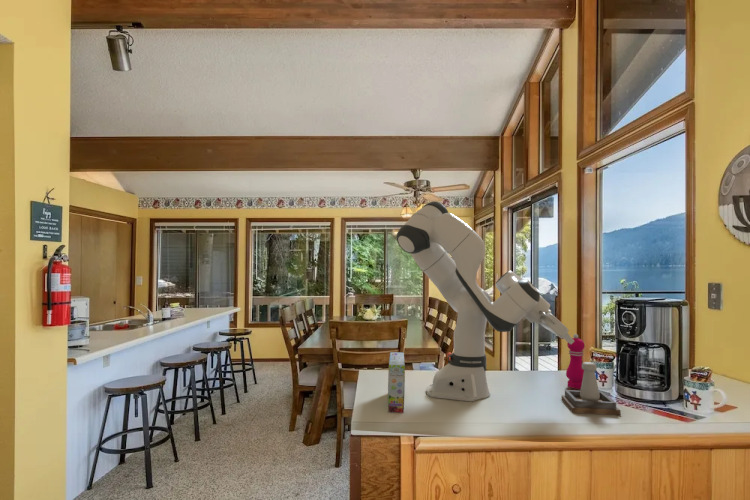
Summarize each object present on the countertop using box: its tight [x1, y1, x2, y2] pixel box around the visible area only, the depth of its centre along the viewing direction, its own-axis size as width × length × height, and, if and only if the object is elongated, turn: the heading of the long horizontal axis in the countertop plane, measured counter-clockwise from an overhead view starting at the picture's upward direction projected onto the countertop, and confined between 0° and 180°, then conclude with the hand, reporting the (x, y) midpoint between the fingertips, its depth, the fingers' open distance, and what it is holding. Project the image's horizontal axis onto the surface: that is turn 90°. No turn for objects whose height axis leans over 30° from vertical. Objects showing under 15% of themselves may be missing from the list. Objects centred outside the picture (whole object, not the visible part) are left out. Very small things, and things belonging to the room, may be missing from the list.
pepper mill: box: [565, 333, 585, 390], centre depth 163 cm, size 7×7×20 cm
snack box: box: [387, 351, 406, 414], centre depth 145 cm, size 21×6×15 cm, turn 177°
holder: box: [561, 389, 622, 416], centre depth 139 cm, size 14×13×4 cm
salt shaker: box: [579, 361, 600, 401], centre depth 139 cm, size 6×6×13 cm
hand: (567, 339), depth 142 cm, fingers open, 8 cm apart
